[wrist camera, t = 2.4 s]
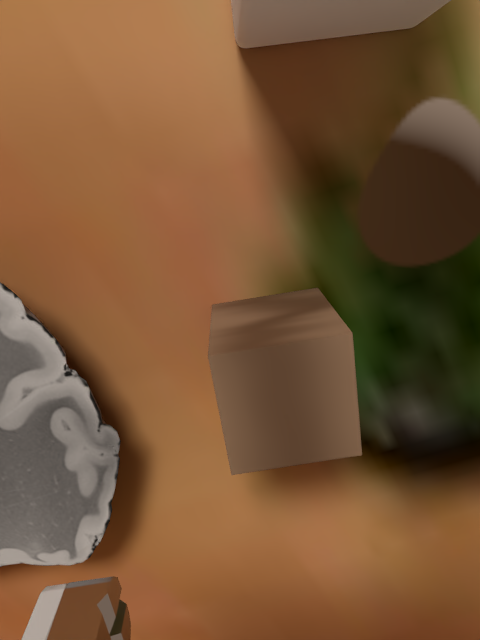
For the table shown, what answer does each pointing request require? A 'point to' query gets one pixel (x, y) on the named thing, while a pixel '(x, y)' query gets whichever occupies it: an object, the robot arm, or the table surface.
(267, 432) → the walnut block
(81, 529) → the brain slice
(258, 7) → the medicine bottle
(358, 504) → the table surface
